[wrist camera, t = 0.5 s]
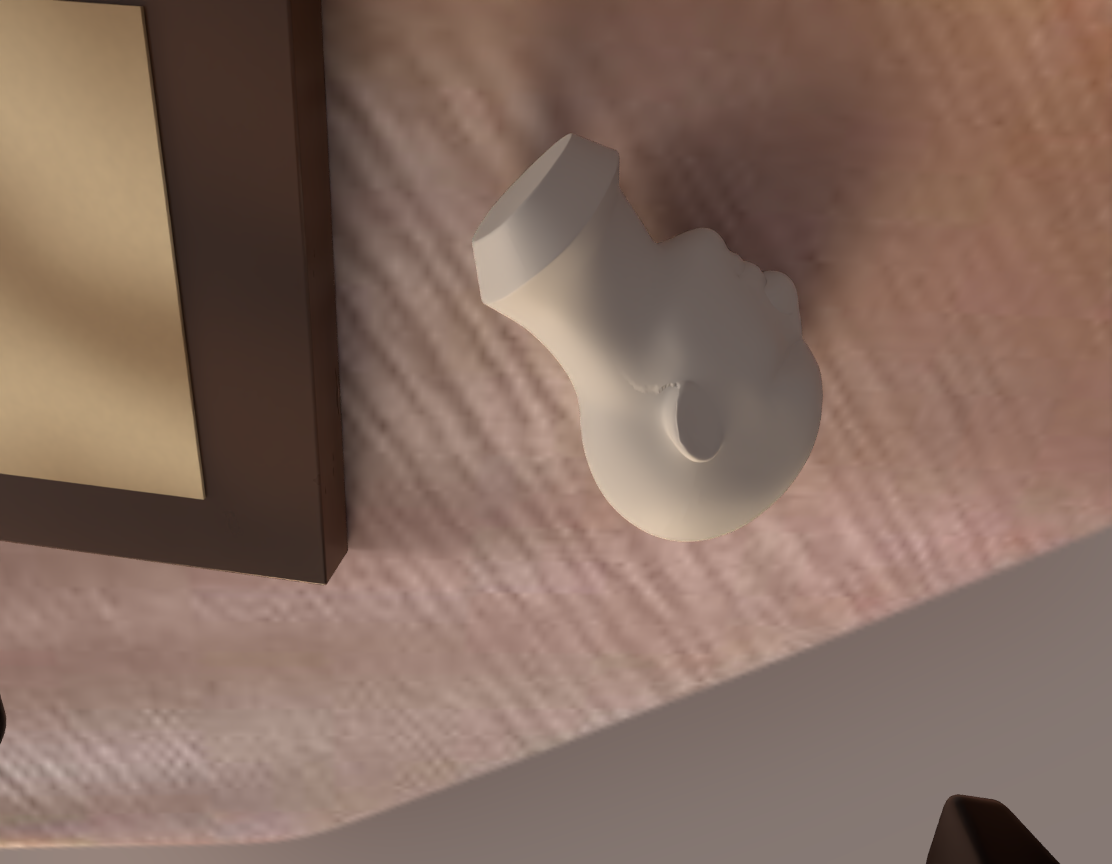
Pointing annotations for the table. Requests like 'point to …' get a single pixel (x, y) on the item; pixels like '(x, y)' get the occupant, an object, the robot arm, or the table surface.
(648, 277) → the smooth white sculpture
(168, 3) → the flat display stand
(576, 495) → the table surface
